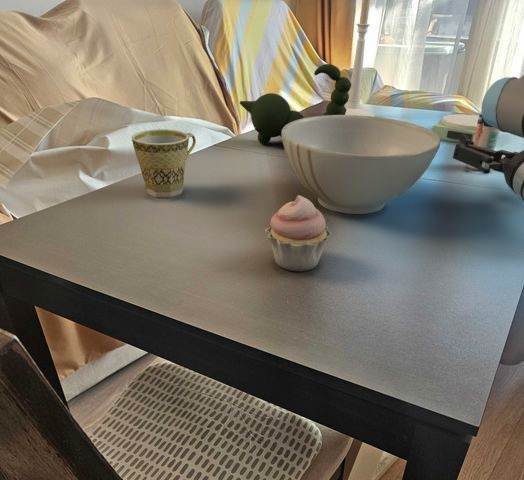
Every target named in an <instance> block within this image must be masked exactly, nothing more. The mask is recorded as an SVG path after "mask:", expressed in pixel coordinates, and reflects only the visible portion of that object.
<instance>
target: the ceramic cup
mask: <svg viewBox="0 0 524 480" xmlns="http://www.w3.org/2000/svg"><path fill="white" fill-rule="evenodd" d="M190 138H192V143H191V146H190V147H189V139H190ZM196 140H197V139H196V137H195V135H194V134H193V133H191V132H184V131H182V130H177V129H167V128H157V129H156V128H155V129H147V130H146V129H145V130H142V131H138V132H136V133H134V134H133V135H132V136H131V141H132V146H133V149H134V153H135V156H136V159H137V162H138V164H139V169H140V172H141V175H142V178H143V181H144V186H145V190H146V193H147V194H148V195H149V196H152V197H153V198H162V199H164V198H166V199H167V198H169V199H170V198H174V197H177V196H180V195H182V193H183V191H184V180H185V168H186V161H187V159H188V157H189V155H190V154H191V153H192V151H193V150H194V148H195V147H196V143H197V141H196Z"/></svg>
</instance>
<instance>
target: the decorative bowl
mask: <svg viewBox="0 0 524 480" xmlns="http://www.w3.org/2000/svg"><path fill="white" fill-rule="evenodd" d="M281 140H282V141H283V142H282V145H283V148H284V149H283V150H284V152H285V155H286V158H287V160H288V162H289V165H290V167H291V169H292V171H293V173H294V175H295V176H296V178H297V179H298V181H299V182H300V183H301V184H302V185H303V187H304V188H305V189H307V190H308V191H309V192H310V193H311V194H312V195H314V196H315V197H317V202H318V203H319V205H321V206H322V207H323V208H325V209H327V210H330V211H332V212H336V213H342V214H347V215H368V214H373V213H376V212H379V211H381V210H383V209H384V207H385V205H386V203H389V202H391V201H393V200H396V199H397V198H399V197H400V196H402V195H403V194H405V193H406V192H407V191H409V190H410V189H411V188H412V187H413V186H414V185H415V184H416V183H417V182H418V181H419V180H420V179H421V178H422V177H423V175H424V174H425V173H426V171H427V170H428V168H429V167H430V166H431V164H432V162H433V161H434V159H435V157H436V155H437V153H438V151H439V150H440V146H441V139H440V138H439V136H438V135H437V134H436V133H434V132H433V131H432V129H429V128H427V127H424V126H422V125H419V124H415V123H413V122H408V121H404V120H400V119H396V118H395V119H394V118H390V117H389V118H388V117H382V116H381V117H380V116H374V117H373V116H361V115H326V116H322V115H316V116H315V115H314V116H308V118H306V117H304V118H303V119H299V120H296V121H293V122H290V123H288V124H287V125H285V126H284V127H283V129H282V137H281Z"/></svg>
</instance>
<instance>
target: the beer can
mask: <svg viewBox="0 0 524 480" xmlns="http://www.w3.org/2000/svg"><path fill="white" fill-rule="evenodd" d="M478 116H479V118H478V122H477V126H476V130H475V134H474V137H473V142H474V145H475V146H479V147H483V148H486V149H490V150H494V151H495V148H496V145H497V141H498V138H499V135H500V132H501V131H500V130H498V129H496V128H494V127H492V126H490V125H488V124H487V123H486V122H485V121H484V119H483V117H482V112H481V111H480V112H479V115H478ZM466 167H468V168H469V169H471V170H473V171H480V170H479V169H477V168H475V167H472V166H470V165H468V164H466ZM480 172H481V171H480Z"/></svg>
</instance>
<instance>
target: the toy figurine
mask: <svg viewBox="0 0 524 480" xmlns="http://www.w3.org/2000/svg"><path fill="white" fill-rule="evenodd" d="M313 74H314V76H318V75H319V74H325V75H326V76H328V77H329V78H330V80H332V81H334V82H335V83H334V89H333V90H332V92H331V94H330V101H329V102H328V103H327V105H326V108H325V112H324V113H323V114H322V115H321V116H326V115H345V113H346V108H345V106H346V105H347V102H348V99H349V91H350V88H351V85H352V84H351V80H350V79H349V78H348V77H346V76H341V75H342V73H341V70H340V69H339V67H338V66H336V65H334V64H332V63H324V64H322V65H320V66H318V68H316V69H315V71H314V73H313ZM239 105H240V106H242V108H243V109H245V110H246V111H247V112H248V113H249V114H250V119H251V123H252V126H253V128H254V130H255V131H256V132H257V133H258V134H257V141H258V142H259V143H260V144H262V145H267V144H268V143H270V142H271V140H272V138H276V137H280V138H282V129H283V127H284V126H285V125H287V124H288V123H290V122H293V121H296V120H299V119H303V118H308V117H309V116H308V117H305V116H304V115H303V114H302V113H301V112H299V111H297V110H292V109H291V106H290V104H289V102H288V101H287V99H286V98H284V97H283V96H281V95H280V94H277V93H275V92H269V93H265V94H263V95H261V96H259V97H258V98H257V99H255V100H240V101H239ZM282 143H283V141H282Z"/></svg>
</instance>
